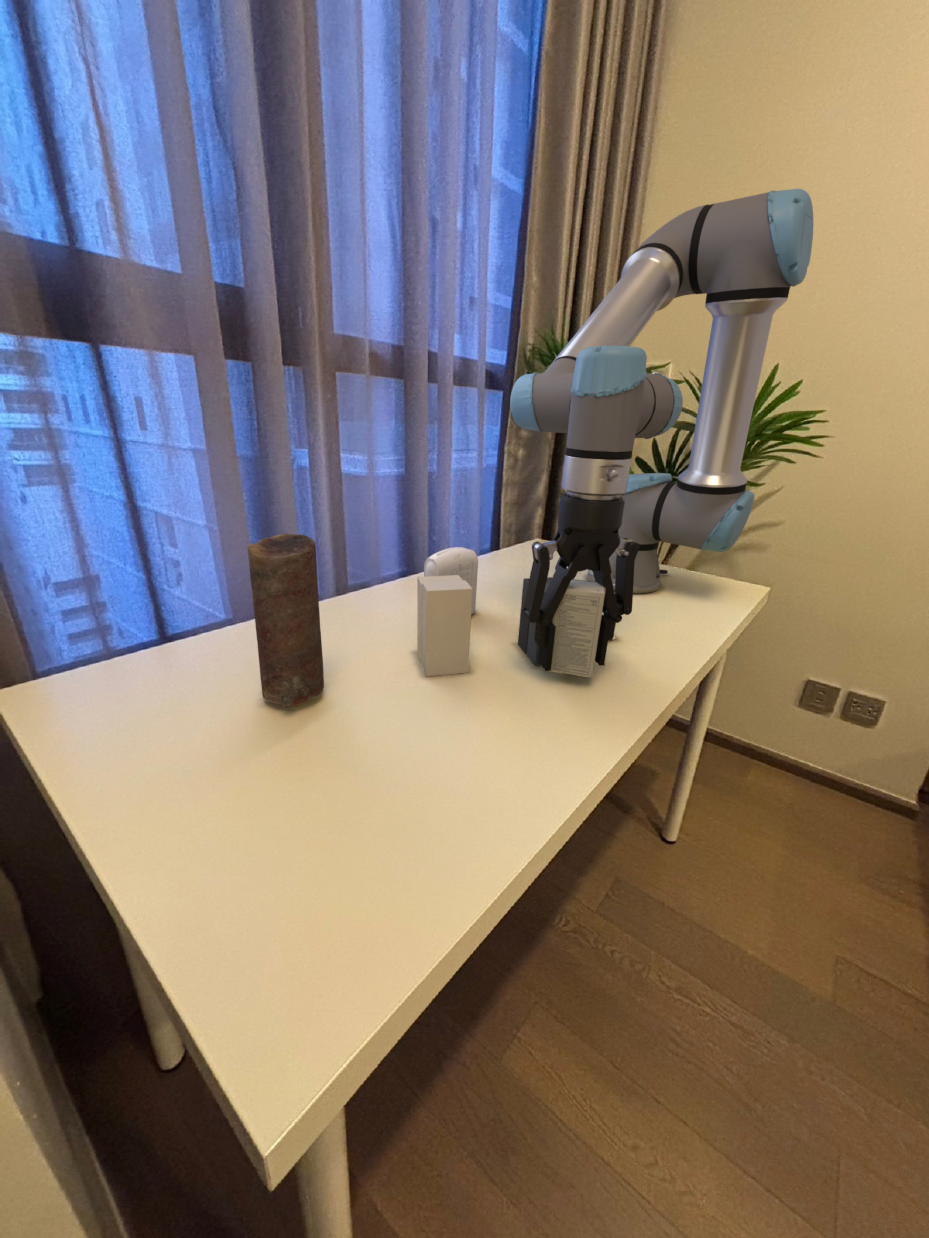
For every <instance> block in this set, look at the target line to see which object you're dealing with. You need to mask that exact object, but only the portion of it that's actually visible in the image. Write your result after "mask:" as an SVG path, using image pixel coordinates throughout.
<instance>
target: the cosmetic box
mask: <svg viewBox="0 0 929 1238" xmlns="http://www.w3.org/2000/svg"><path fill="white" fill-rule="evenodd" d="M604 597H605V588H604V587H603V586H602V585H600V584H599V583H597V582H594V581H589V580H584V579H575V578H574V579H572V580H571V582H570V584H569V586H568V588H567V590H566V592H565V594H564V596H563V598H562V600H561V602H560V604H559V606H558V609H557V611H556V613H555V615H554V617H553V619H552V623H553V624H554V625H555V626H556V630H555V639H554V647H553V656H552V665H551V671H550V672H553V673H559V674H566V675H572V676H578V677H584V678H593V675H594V668H595V663H596V662H595V656H596V650H597V643H598V636H599V630H600V623H601V617H602V615H603V612H602V610H603V603H604Z"/></svg>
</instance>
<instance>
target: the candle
mask: <svg viewBox="0 0 929 1238" xmlns="http://www.w3.org/2000/svg"><path fill="white" fill-rule="evenodd" d="M247 556H248V567H249V579H250V586H251V595H252V596H251V597H252V604H253V614H254V623H255V633H256V643H257V653H258V654H257V655H258V665H259V676H260V677H259V678H260V686H261V695H262V698H263V699H264V700H265V701H267V702H270V703H273V704H275V705H279V706H283V707H286V708H291V707H294V706H299V705H301V704H303V703H305V702H309V701H310V700H313V699H315V698H318V697H319V696H321V694H322V692H323V691H324V687H325V679H324V678H325V677H324V676H325V674H324V673H325V672H324V657H323V644H322V643H323V642H322V631H321V616H320V600H319V599H320V598H319V583H318V561H317V546H316V541H315V539H313V538H312V537H310V536H308V535H306V534H294V533H281V534H276V535H273V536H268V537H264V538H261V539H259V540H258V541H256V542H255V543H249V545H247Z"/></svg>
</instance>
